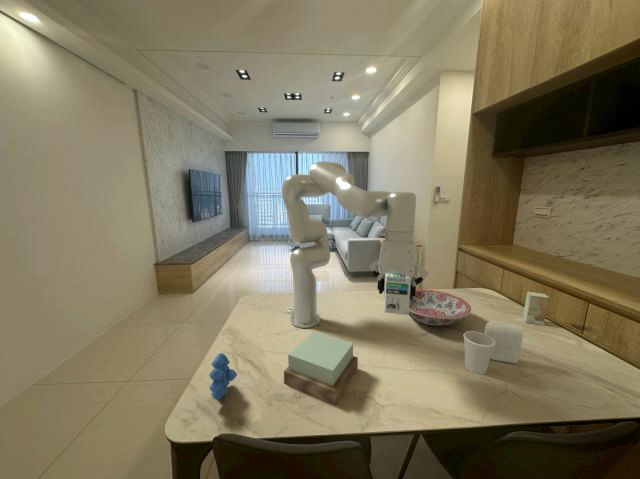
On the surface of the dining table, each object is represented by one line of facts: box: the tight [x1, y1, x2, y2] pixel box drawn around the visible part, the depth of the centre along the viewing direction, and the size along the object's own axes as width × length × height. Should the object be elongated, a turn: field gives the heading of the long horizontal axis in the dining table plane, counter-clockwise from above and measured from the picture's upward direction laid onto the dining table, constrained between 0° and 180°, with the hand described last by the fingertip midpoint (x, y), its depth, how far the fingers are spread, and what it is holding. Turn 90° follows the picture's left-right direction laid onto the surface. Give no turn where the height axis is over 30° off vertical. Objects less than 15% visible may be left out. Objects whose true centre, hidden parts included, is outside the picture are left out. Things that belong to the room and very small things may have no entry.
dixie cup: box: [462, 330, 495, 374], centre depth 80 cm, size 8×8×10 cm
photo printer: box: [483, 321, 524, 364], centre depth 84 cm, size 10×4×12 cm, turn 72°
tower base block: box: [283, 355, 359, 406], centre depth 77 cm, size 16×16×4 cm
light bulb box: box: [383, 273, 411, 316], centre depth 77 cm, size 11×7×11 cm, turn 169°
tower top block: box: [287, 331, 354, 386], centre depth 77 cm, size 14×14×4 cm
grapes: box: [208, 352, 238, 401], centre depth 69 cm, size 12×7×12 cm, turn 8°
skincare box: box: [522, 291, 550, 326], centre depth 108 cm, size 6×4×12 cm
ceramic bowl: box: [408, 288, 472, 327], centre depth 111 cm, size 29×29×8 cm
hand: (395, 294), depth 77 cm, fingers closed on light bulb box, 8 cm apart
